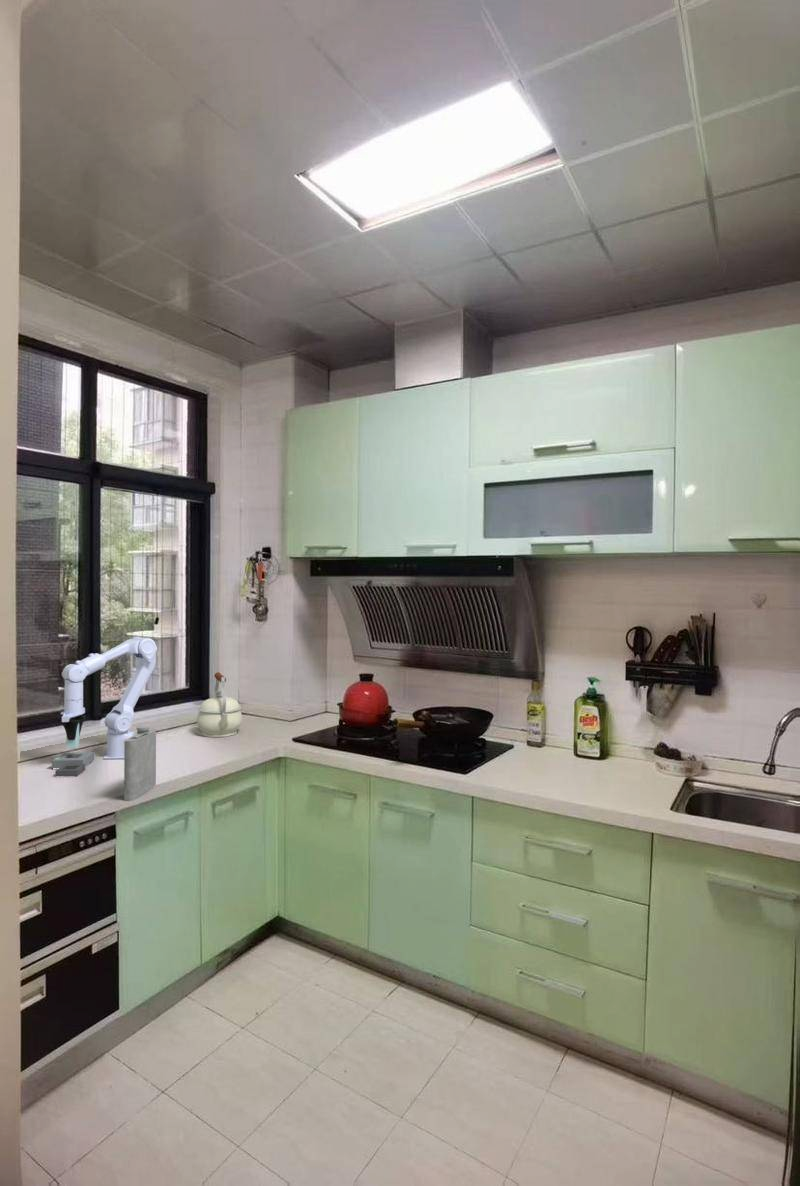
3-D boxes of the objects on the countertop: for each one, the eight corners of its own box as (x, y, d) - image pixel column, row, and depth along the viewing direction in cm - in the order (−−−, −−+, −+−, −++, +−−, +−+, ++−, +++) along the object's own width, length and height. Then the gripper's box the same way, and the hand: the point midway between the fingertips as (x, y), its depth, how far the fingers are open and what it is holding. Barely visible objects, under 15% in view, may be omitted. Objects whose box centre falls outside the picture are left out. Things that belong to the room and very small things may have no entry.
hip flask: (147, 783, 198) (148, 720, 197) (160, 783, 197) (160, 720, 197) (122, 800, 182) (122, 732, 181) (135, 801, 182) (135, 732, 181)
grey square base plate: (85, 770, 210) (85, 764, 210) (77, 776, 203) (77, 770, 203) (64, 770, 209) (64, 764, 209) (55, 776, 203) (55, 770, 203)
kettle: (193, 729, 269) (194, 672, 268) (237, 726, 277) (237, 670, 276) (201, 743, 246) (202, 680, 246) (248, 739, 254) (249, 678, 253)
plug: (79, 745, 217) (79, 720, 217) (75, 748, 214) (75, 722, 214) (70, 746, 217) (70, 720, 217) (66, 748, 214) (66, 722, 214)
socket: (94, 760, 221) (94, 751, 221) (83, 768, 212) (83, 759, 211) (64, 760, 220) (64, 751, 220) (51, 769, 210) (51, 759, 210)
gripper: (70, 695, 222) (70, 733, 223) (52, 703, 208) (52, 743, 208) (91, 695, 223) (90, 733, 223) (74, 703, 209) (74, 743, 209)
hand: (73, 738), depth 216 cm, fingers closed on plug, 3 cm apart
